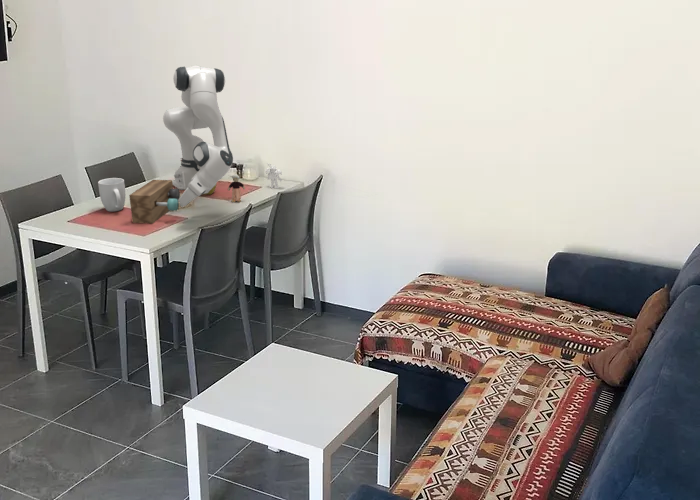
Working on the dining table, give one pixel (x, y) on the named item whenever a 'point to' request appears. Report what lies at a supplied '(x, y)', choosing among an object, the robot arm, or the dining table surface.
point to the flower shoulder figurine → (273, 175)
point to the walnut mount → (150, 201)
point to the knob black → (174, 194)
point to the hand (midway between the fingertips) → (181, 204)
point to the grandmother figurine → (236, 188)
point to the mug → (112, 193)
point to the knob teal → (170, 204)
